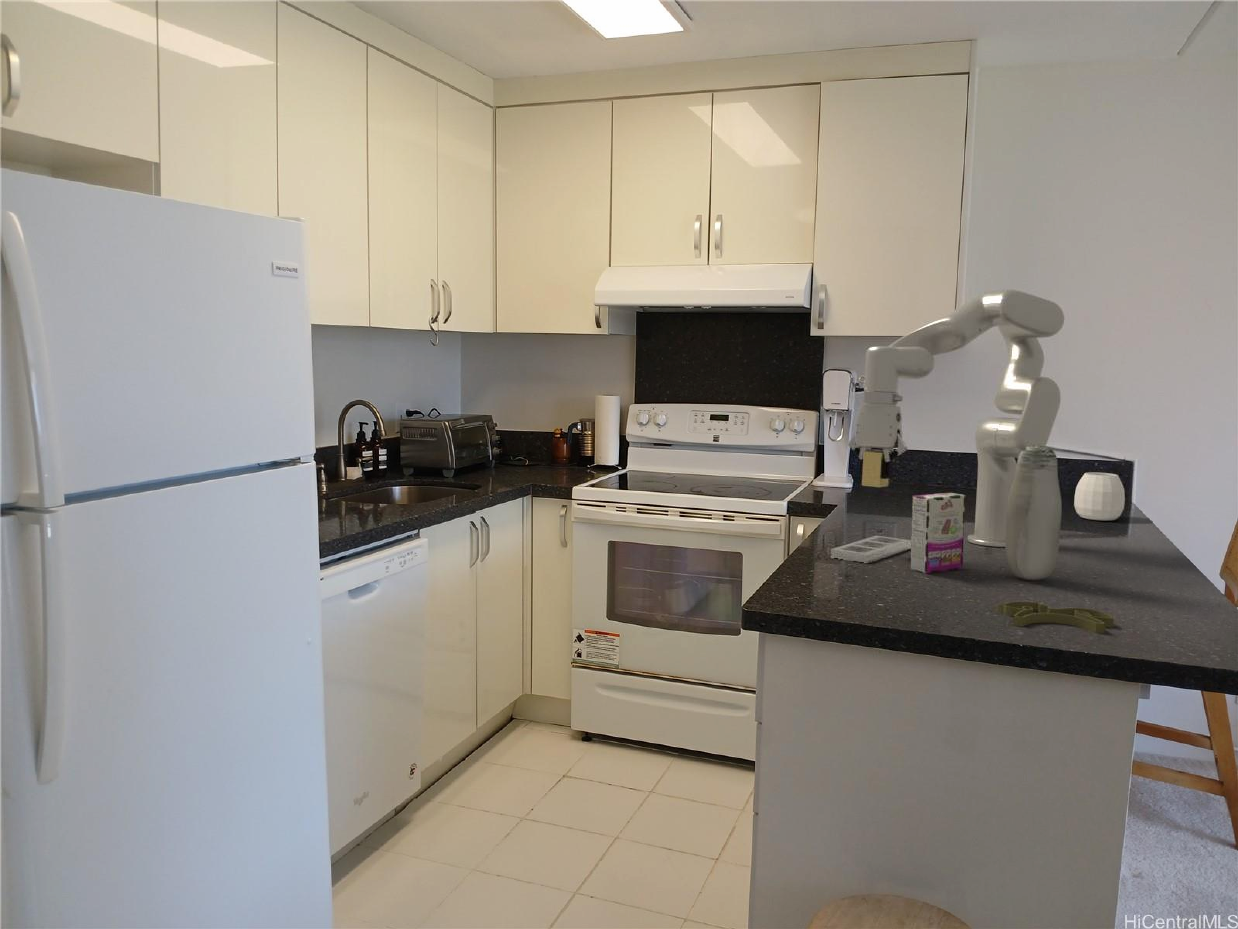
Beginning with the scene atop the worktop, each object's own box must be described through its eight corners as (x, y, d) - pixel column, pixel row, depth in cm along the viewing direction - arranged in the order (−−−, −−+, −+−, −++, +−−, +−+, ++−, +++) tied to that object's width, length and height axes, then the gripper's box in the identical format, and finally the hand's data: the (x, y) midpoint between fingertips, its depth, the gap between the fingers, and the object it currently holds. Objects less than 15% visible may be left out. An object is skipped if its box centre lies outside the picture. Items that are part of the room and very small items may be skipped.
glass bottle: (1053, 586, 184) (1062, 448, 181) (999, 580, 189) (1007, 445, 186) (1059, 577, 192) (1068, 445, 189) (1007, 571, 198) (1015, 442, 195)
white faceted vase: (1075, 521, 267) (1078, 475, 265) (1071, 514, 279) (1074, 470, 277) (1126, 524, 262) (1129, 477, 260) (1120, 517, 274) (1123, 473, 272)
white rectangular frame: (910, 548, 222) (911, 540, 221) (867, 563, 203) (867, 554, 203) (875, 543, 227) (876, 535, 227) (830, 557, 209) (830, 549, 209)
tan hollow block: (888, 486, 216) (890, 450, 215) (879, 487, 212) (881, 451, 211) (870, 484, 219) (872, 449, 218) (861, 485, 215) (863, 449, 214)
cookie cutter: (1001, 627, 156) (1002, 615, 156) (995, 609, 167) (995, 599, 167) (1119, 637, 151) (1119, 625, 150) (1104, 619, 162) (1105, 608, 162)
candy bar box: (945, 565, 203) (949, 492, 202) (963, 569, 199) (967, 494, 197) (908, 569, 198) (911, 494, 196) (925, 574, 194) (929, 497, 192)
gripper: (921, 401, 211) (916, 479, 212) (854, 398, 222) (850, 473, 224) (907, 401, 205) (902, 482, 207) (839, 398, 216) (835, 474, 218)
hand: (875, 476), depth 215 cm, fingers closed on tan hollow block, 4 cm apart
